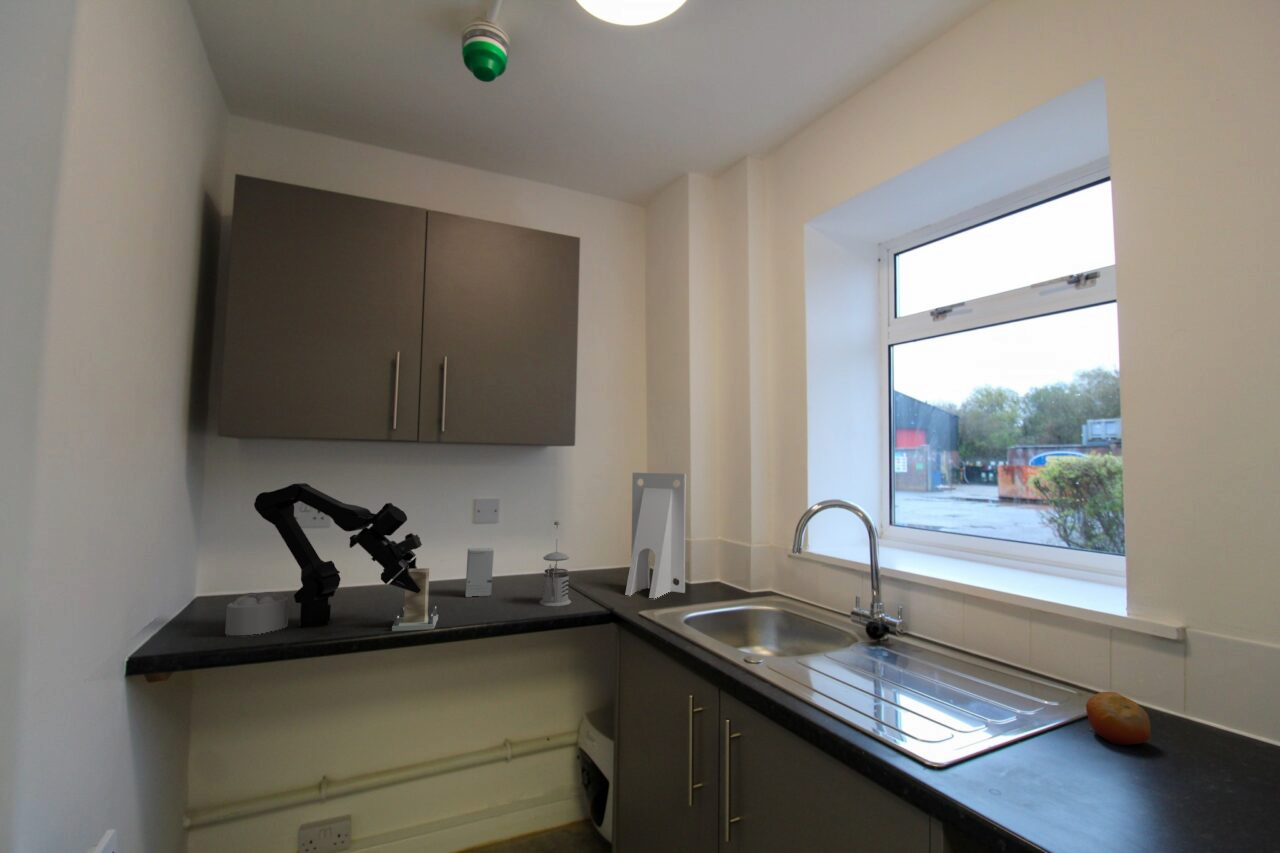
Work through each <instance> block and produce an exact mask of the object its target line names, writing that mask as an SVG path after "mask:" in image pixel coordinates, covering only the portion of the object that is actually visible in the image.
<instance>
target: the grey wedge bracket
mask: <svg viewBox="0 0 1280 853" xmlns="http://www.w3.org/2000/svg"><path fill="white" fill-rule="evenodd" d="M640 479H641V480H642V482H643V483H642V485H640V484H639V480H640ZM676 480H677V481H679V486H676V485H675V482H676ZM686 482H687V474H686V473H671V472H670V473H668V472H632V486H631V487H632V489H631V490H632V492H631V493H632V495H631V497H632V498H631V555H630V557H631V559H630V560H631V561H630V566H629V572H628V577H627V581H626V582H627V583H626V588H625V593H624V594H625V595H629V596H628V597H632V596H631V595H633V594H636V593H638V592H641V591H643V590H645V589H647V588H648V589H650V590H649V595H648V599H649V598H654V599H653V600H656V599H658V598H660V596H661V597H662V595H663V596H665V595H667V594H669V593H670V592H672V593H673V592H674V593H681V594H682V593H683V594H685V593H686V519H687V518H686V512H687V510H686V509H687V508H686V506H687V505H686V503H687V496H686V495H687V493H686V490H687V488H686V487H687V485H686V484H687V483H686ZM651 550H652V552H653V553H654V558H655V560H654V564H653V565H654V566H653V570H652V571H653V572H652V576H651V582H650V573H651V572H650V568H651V566H650V565H651V564H650V559H651V558H650V556H651V555H650V554H651ZM674 579H677V580H678V582H679V583H678V584H675V583H674V581H675V580H674ZM642 589H643V590H642ZM637 591H638V592H637ZM635 592H636V593H635ZM668 592H669V593H668ZM666 593H667V594H666ZM664 594H665V595H664ZM625 595H624V596H625ZM657 597H658V598H657ZM655 598H656V599H655Z"/></svg>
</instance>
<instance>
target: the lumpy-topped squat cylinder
mask: <svg viewBox="0 0 1280 853" xmlns="http://www.w3.org/2000/svg"><path fill="white" fill-rule="evenodd" d="M289 604H290V598H289V597H287V596H284V595H283V594H281V593H278V592H277V593H276V592H272V591H268V592H266V591H265V592H263V593H260V594H256V593H255V592H248V593H246V594H245V595H243V596H239V597H237V598H236V599H235V600H234V601H232V602H229V603H228V604H227V606H226V612H225V630H224V635H225V634H228V635H251V636H253V635H252V634H259V635H262V634H261V633H263V634H267V633H266V632H268V633H271V632H270V631H272V632H275V630H276V631H279V629H280V630H283V629H285V627H286V628H287V627H288V625H289V609H290V608H289V606H290V605H289ZM282 628H283V629H282Z"/></svg>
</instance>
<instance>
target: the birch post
mask: <svg viewBox="0 0 1280 853" xmlns="http://www.w3.org/2000/svg"><path fill="white" fill-rule="evenodd" d="M409 574H410V576H411V577H412V578H413V580H414V581H415V582H416V584H417V585H418V586H419V588H420V589H421V591H420V592H419V593H415V592H412V591H409V590H406V589H404V590H405V592H404V607H405V612H404V623H417V622H425V620H426V619H427V616H428V614H429V611H428V609H429V588H430V587H429V586H430V584H429V582H430V568H429V567H426V568H425V567H424V568H421V567H420V568H419V567H418V568H417V569H409Z"/></svg>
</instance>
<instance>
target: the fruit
mask: <svg viewBox="0 0 1280 853" xmlns="http://www.w3.org/2000/svg"><path fill="white" fill-rule="evenodd" d="M1085 710H1086V714H1087V719H1088V722H1089V724H1090V726H1091V728H1089V730H1088V731H1094V732H1095V733H1096V734H1097V735H1099V737H1100V738H1102V739H1105V740H1107V741H1108V742H1109V743H1111V744H1113V745H1118V746H1121V745H1122V746H1129V745H1131V746H1132V745H1139V744H1142V743H1144V742H1147V741H1148V740H1149V739H1150V738H1151V736H1152V735H1151V731H1152V730H1151V728H1152V724H1151V721H1150V716H1149V715H1148V713H1147V712H1146V711H1145V710H1144V708H1142V707H1140V705H1139V704H1138V703H1137V702H1136V701H1134V700H1133V699H1130V698H1128V697H1126V696H1124V695H1121V693H1118V692H1116V691H1102V692H1098V693H1096V694H1094V695H1092V696H1091V697H1089V698H1088V700H1087V702H1086V705H1085Z"/></svg>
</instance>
